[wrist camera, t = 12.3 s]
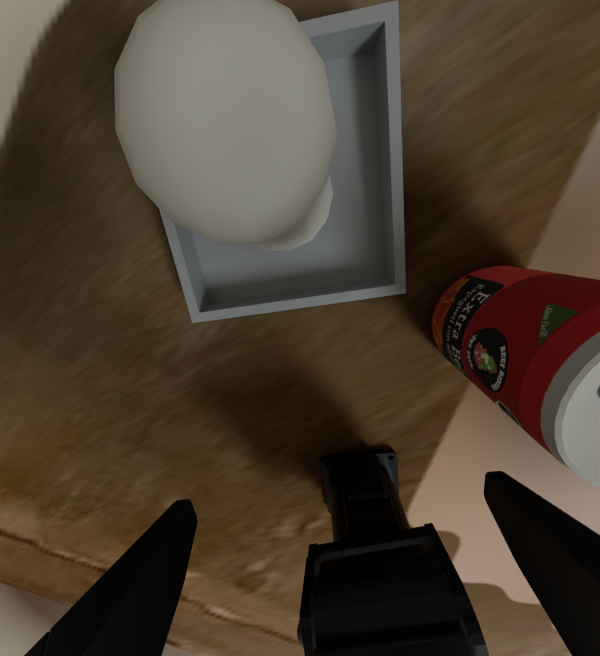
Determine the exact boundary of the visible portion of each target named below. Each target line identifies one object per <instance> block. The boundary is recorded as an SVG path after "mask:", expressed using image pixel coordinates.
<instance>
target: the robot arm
mask: <svg viewBox="0 0 600 656" xmlns="http://www.w3.org/2000/svg"><path fill="white" fill-rule="evenodd" d="M390 455H392V456H390ZM320 462H321V470H322V476H323V482H324V488H325V494H326V501H327V507H328V511H329V513H331V519H332V531H333V542H331V543H325V544H319V545H317V543H316V544H310V545H309V551H308V557H307V558H306V567H305V575H304V583H303V592H302V600H301V608H300V620H299V624H298V628H297V636H298V641H299V643H300V644H301V645H302V647H303V648H304V652H305V656H489V653H488V650H487V646H486V643H485V640H484V637H483V634H482V631H481V628H480V626H479V623H478V620H477V617H476V615H475V612H474V610H473V607H472V605H471V602H470V600H469V597H468V595H467V593H466V590H465V588H464V586H463V583H462V581H461V579H460V577H459V575H458V573H457V571H456V569H455V567H454V565H453V563H452V561H451V559H450V557H449V555H448V553H447V551H446V549H445V547H444V545H443V543H442V541H441V540H440V538H439V536H438V534H437V532H436V530H435V528H434V526H433V524H432V523H429V524H424V526H422V527H416V528H410V526H409V523H408V520H407V517H406V514H405V511H404V509H403V506H402V503H401V500H400V497H399V488H398V467H397V455H396V453H395V451H394V450H392V449H388V450H378V451H368V452H358V453H348V454H338V455H327V456H323V457H322V458H321V460H320ZM326 462H327V463H326ZM484 497H485V500H486V502H487V504H488V506H489V508H490V510H491V512H492V514H493V516H494V518H495V521H496V522H497V525H498V527H499V528H500V530H501V533H502V534H503V537H504V539H505V541H506V543H507V545H508V547H509V549H510V551H511V553H512V555H513V557H514V559H515V561H516V563H517V564H518V566H519V568H520V570H521V571H522V573H523V575H524V576H525V578H526V580H527V581H528V583H529V585H530V586H531V588H532V590H533V591H534V593H535V595H536V596H537V598H538V600H539V601H540V603H541V605H542V606H543V608H544V610H545V611H546V613H547V615H548V616H549V618H550V620H551V621H552V623H553V625H554V626H555V628H556V630H557V631H558V633H559V635H560V636H561V638H562V640H563V641H564V643H565V645H566V646H567V648H568V650H569V651H570V653H571V655H572V656H600V535H599V534H597V533H595V532H594V531H593V530H591V529H590V528H588V527H587V526H585V525H584V524H582V523H581V522H579V521H578V520H576V519H574V518H573V517H571V516H570V515H568V514H567V513H565V512H564V511H562V510H561V509H559V508H558V507H556V506H555V505H553V504H552V503H550V502H548V501H547V500H545V499H544V498H542V497H541V496H539V495H538V494H536V493H535V492H533V491H532V490H530V489H529V488H527V487H526V486H524V485H523V484H521V483H519V482H518V481H516V480H515V479H513V478H512V477H510V476H509V475H507V474H506V473H504V472H502V471H495V472H494V471H493V472H487V473H486V475H485V485H484ZM196 527H197V516H196V513H195V511H194V508H193V505H192V503H191V501H190V500H189V499H184V500H177V501H175V502H174V503H173V504H172V505H171V506H170V507H169V508H168V509H167V510H166V511H165V512H164V513H163V514H162V515H161V516H160V517H159V518H158V519H157V520H156V521H155V522H154V523H153V524H152V526H151V527H150V528H149V529H148V530H147V531H146V532H145V533H144V534H143V535H142V536H141V537H140V538H139V539H138V540H137V541H136V542H135V543H134V544H133V545H132V546H131V547H130V548H129V549H128V550H127V551H126V552H125V553H124V554H123V555H122V556H121V557H120V558H119V559H118V560H117V561H116V562H115V563H114V564H113V565H112V566H111V567H110V568H109V570H108V571H107V572H106V573H105V574H104V575H103V576H102V577H101V578H100V579H99V580H98V581H97V582H96V583H95V584H94V585H93V586H92V587H91V588H90V589H89V590H88V591H87V592H86V593H85V594H84V595H83V596H82V597H81V598H80V599H79V600H78V601H77V602H76V603H75V604H74V605H73V606H72V607H71V608H70V609H69V611H67V612H66V614H65V615H64V616H63V617H62V618H61V619H60V620H59V621H58V622H57V623H56V624H55V625H54V626H53V627H52V628H51V630H50V632H47V633H46V634H45V635H44V636H43V637H42V638H41V639H40V640H39V641H38V642H37V643H36V644H35V645H34V646H33V647H32V648H31V649H30V650H29V651H28V652H27V653H26V654H25V655H24V656H161V655H162V652H163V649H164V646H165V643H166V639H167V636H168V633H169V630H170V627H171V623H172V620H173V617H174V614H175V611H176V608H177V604H178V601H179V598H180V595H181V591H182V588H183V584H184V580H185V576H186V572H187V567H188V563H189V559H190V554H191V550H192V545H193V541H194V536H195V532H196Z"/></svg>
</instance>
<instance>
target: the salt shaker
mask: <svg viewBox="0 0 600 656" xmlns="http://www.w3.org/2000/svg"><path fill="white" fill-rule="evenodd" d="M114 80H115V130H116V133H117V135H118V138H119V141H120V143H121V146H122V148H123V151H124V154H125V156H126V159H127V162H128V164H129V167H130V170H131V172H132V175H133V177H134V180H135V183H136V184H137V185H138V186H139V187H140V188H141V189H142V190H143V192H144V193H145V194H146V195H147V196H148V197H149V198H150V199H151V200H152V201H153V202H154V203H155V205H156V206H157V207H158V208H159V209H160V210H161V211H162V212H163V213H164V214H165V215H166V216H167V218H168V219H169V220H170V221H172V222H174V223H176V224H178V225H180V226H182V227H184V228H186V229H188V230H191V231H193V232H195V233H197V234H199V235H201V236H203V237H205V238H207V239H209V240H211V241H213V242H216V243H218V244H220V245H240V244H255V245H257V246H259V247H261V248H263V249H265V250H267V251H291V250H293V249H295V248H297V247H299V246H301V245H303V244H305V243H307V242H309V241H311V240H312V239H313V238H314V237H315V235H316V234H317V233H318V231H319V230H320V229H321V227H322V226H323V224H324V223H325V222H326V220H327V218H328V214H329V209H330V205H331V201H332V197H333V189H332V184H331V179H330V174H329V171H330V167H331V163H332V158H333V154H334V149H335V145H336V141H337V136H338V134H337V129H336V123H335V118H334V112H333V107H332V101H331V96H330V90H329V85H328V80H327V75H326V70H325V65H324V62H323V60H322V59H321V57H320V56H319V54H318V52H317V51H316V49H315V48H314V46H313V44H312V43H311V41H310V40H309V38H308V36H307V35H306V33H305V32H304V30H303V28H302V27H301V25H300V24H299V22H298V20H297V19H296V17H295V16H294V14H293V12H292V11H291V9H289V8H288V7H286V6H284V5H282V4H281V3H279V2H277V1H275V0H158V1H157V2H155V3H154V4H153V5H152V6H150V7H149V8H148V9H147V10H145V11H144V12H143V13H142V14H140V15H139V16H138V18H137V20H136V22H135V24H134V27H133V29H132V31H131V33H130V36H129V38H128V40H127V42H126V45H125V47H124V49H123V52H122V54H121V56H120V58H119V61H118V63H117V65H116V67H115V70H114Z"/></svg>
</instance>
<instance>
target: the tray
mask: <svg viewBox="0 0 600 656" xmlns="http://www.w3.org/2000/svg"><path fill="white" fill-rule="evenodd" d="M299 24H300V25H301V27H302V28H303V30H304V32H305V33H306V35H307V36H308V38H309V40H310V41H311V43H312V44H313V46H314V48H315V49H316V51H317V52H318V54H319V56H320V57H321V59H322V60H323V62H324V65H325V70H326V75H327V80H328V85H329V90H330V96H331V101H332V107H333V112H334V118H335V123H336V129H337V134H338V136H337V141H336V145H335V149H334V154H333V158H332V163H331V167H330V171H329V174H330V179H331V184H332V189H333V197H332V201H331V205H330V209H329V214H328V218H327V220H326V222H325V223H324V224H323V226H322V227H321V229H320V230H319V231H318V233H317V234H316V235H315V237H314V238H313V239H312V240H311V241H309V242H307V243H305V244H303V245H301V246H299V247H297V248H295V249H293V250H291V251H267V250H265V249H263V248H261V247H259V246H257V245H255V244H240V245H220V244H218V243H216V242H213V241H211V240H209V239H207V238H205V237H203V236H201V235H199V234H197V233H195V232H193V231H191V230H188V229H186V228H184V227H182V226H180V225H178V224H176V223H174V222H172V221H170V220H169V219H168V218H167V216H166V215H165V214H164V213H163V212H162V211H161V210H160V209H159V210H160V213H161V217H162V220H163V224H164V227H165V230H166V234H167V237H168V241H169V244H170V248H171V251H172V254H173V258H174V261H175V265H176V268H177V272H178V275H179V278H180V282H181V285H182V289H183V292H184V296H185V299H186V303H187V306H188V309H189V313H190V316H191V320H192V323H197V322H204V321H212V320H219V319H226V318H233V317H240V316H247V315H254V314H262V313H269V312H276V311H283V310H290V309H297V308H304V307H312V306H319V305H326V304H333V303H340V302H347V301H354V300H362V299H369V298H376V297H383V296H390V295H397V294H404V293H406V270H405V234H404V197H403V161H402V124H401V88H400V52H399V15H398V0H397V1H393V2H388V3H384V4H379V5H374V6H370V7H365V8H361V9H356V10H352V11H347V12H342V13H338V14H333V15H329V16H324V17H319V18H315V19H310V20H306V21H301V22H299ZM117 63H118V62H117Z"/></svg>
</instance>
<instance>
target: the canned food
mask: <svg viewBox="0 0 600 656" xmlns="http://www.w3.org/2000/svg"><path fill="white" fill-rule="evenodd" d="M432 333H433V336H434V339H435V342H436V345H437V347H438V349H439V350H440V352H441V353H442V355H443V356H444V357H445V358H447V359H448V360H449V361H450V362H451V363H452V364H453V365H454V366H455V367H456V368H457V369H458V370H459V371H461V372H462V373H463V374H464V375H465V376H466V377H467V378H468V379H469V380H470V381H471V382H472V383H474V384H475V385H476V386H477V387H478V388H479V389H480V390H481V391H482V392H483V393H484V394H485V395H487V396H488V397H489V398H490V399H491V400H492V401H493V402H494V403H495V404H496V405H497V406H499V407H500V408H501V409H502V410H503V411H504V412H505V413H506V414H507V415H508V416H509V417H510V418H512V419H513V420H514V421H515V422H516V423H517V424H518V425H519V426H520V427H521V428H522V429H523V430H525V431H526V432H527V433H528V434H529V435H530V436H531V437H532V438H533V439H534V440H535V441H537V442H538V443H539V444H540V445H541V446H542V447H543V448H545V449H546V450H547V451H548V452H549V453H550V454H552V455H553V456H554V457H555V458H556V459H557V460H558V461H559V462H560V463H561V464H562V465H564V466H566V467H567V468H569V469H570V470H572V471H573V472H574V473H575V474H576V475H577V476H579V477H581V478H582V479H584V480H586V481H588V482H589V483H591V484H594V485H597V486H600V280H596V279H590V278H584V277H577V276H571V275H565V274H558V273H552V272H546V271H539V270H533V269H527V268H520V267H514V266H493V267H488V268H483V269H479V270H476V271H474V272H471V273H468V274H466V275H464V276H463V277H461V278H459V279H458V280H456V281H455V282H454V283H453V284H451V285H450V286H449V287H448V288H447V289H446V290H445V291H444V293H443V294H442V295H441V296H440V298H439V300H438V302H437V304H436V305H435V308H434V312H433V315H432Z"/></svg>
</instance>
